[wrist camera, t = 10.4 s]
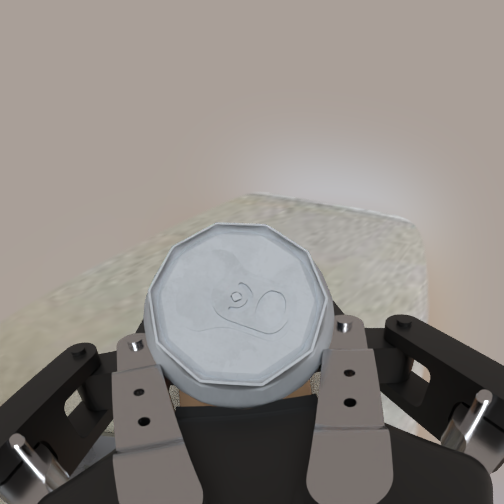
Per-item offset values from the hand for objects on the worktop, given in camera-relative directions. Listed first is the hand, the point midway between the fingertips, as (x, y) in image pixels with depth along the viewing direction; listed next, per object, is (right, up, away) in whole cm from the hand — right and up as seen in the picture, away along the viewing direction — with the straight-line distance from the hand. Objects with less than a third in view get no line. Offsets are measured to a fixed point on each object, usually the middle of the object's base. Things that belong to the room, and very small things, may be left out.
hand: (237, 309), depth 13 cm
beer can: (0, -5, +4) cm, 6 cm away
